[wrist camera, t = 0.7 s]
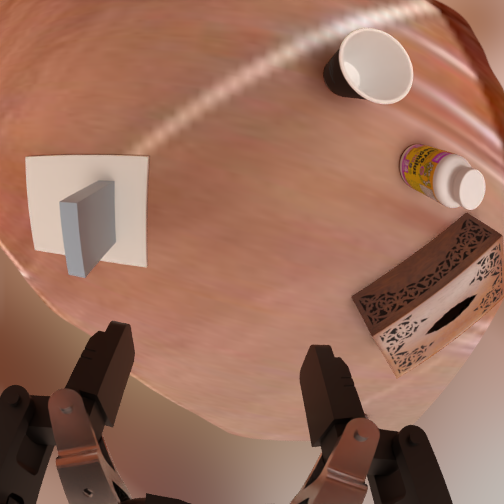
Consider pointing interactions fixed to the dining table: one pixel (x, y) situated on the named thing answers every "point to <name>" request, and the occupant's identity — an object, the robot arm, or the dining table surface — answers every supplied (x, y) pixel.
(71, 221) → the tile
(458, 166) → the supplement bottle
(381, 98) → the dixie cup
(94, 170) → the board
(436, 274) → the tissue box cover
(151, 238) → the dining table surface
